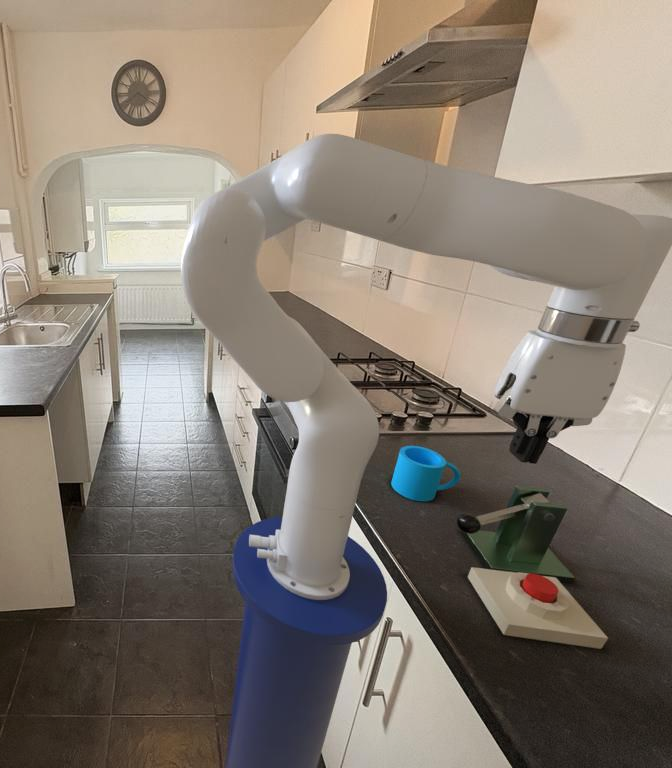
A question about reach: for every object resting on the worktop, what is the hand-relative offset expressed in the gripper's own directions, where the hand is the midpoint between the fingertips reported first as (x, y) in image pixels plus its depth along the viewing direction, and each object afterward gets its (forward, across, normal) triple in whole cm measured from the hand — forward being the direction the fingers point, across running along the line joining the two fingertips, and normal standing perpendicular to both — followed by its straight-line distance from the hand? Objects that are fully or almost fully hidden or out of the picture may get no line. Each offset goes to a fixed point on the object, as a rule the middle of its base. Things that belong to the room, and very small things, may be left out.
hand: (521, 457), depth 56 cm
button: (+20, -7, +3) cm, 22 cm away
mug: (+24, -3, -25) cm, 34 cm away
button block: (+24, -7, +3) cm, 25 cm away
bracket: (+24, -11, -8) cm, 27 cm away
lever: (+17, -7, -8) cm, 20 cm away
